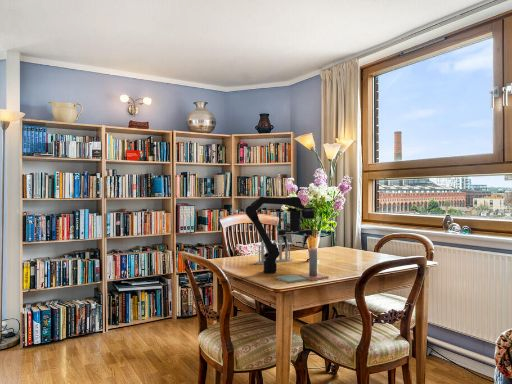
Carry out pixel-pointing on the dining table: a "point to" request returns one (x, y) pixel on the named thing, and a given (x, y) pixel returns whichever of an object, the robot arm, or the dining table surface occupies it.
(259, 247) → the test tube rack
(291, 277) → the sage tile
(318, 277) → the terracotta tile
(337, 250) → the dining table surface
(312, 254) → the tube
